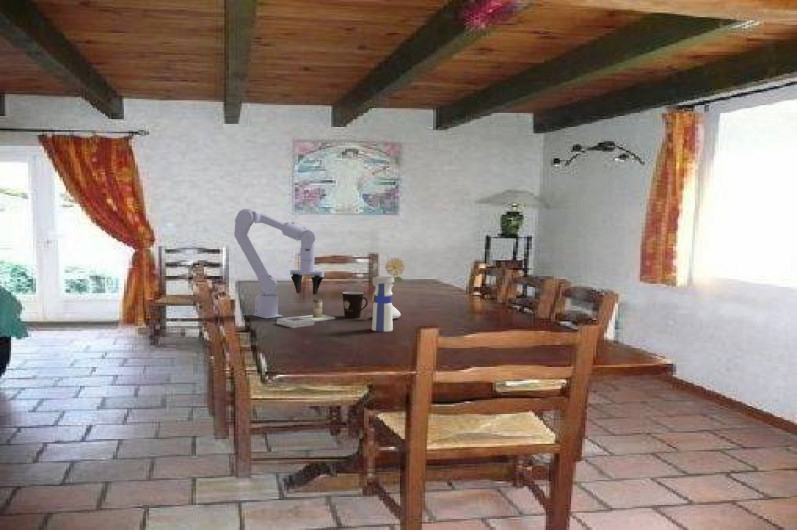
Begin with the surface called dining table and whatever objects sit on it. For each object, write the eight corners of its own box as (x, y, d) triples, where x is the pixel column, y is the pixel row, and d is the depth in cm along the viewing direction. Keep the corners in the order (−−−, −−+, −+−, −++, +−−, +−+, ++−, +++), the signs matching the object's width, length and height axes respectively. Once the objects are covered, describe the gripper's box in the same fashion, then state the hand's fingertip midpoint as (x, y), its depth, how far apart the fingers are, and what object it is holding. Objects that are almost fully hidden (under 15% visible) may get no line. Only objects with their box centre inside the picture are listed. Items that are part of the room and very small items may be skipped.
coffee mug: (338, 315, 263) (339, 291, 262) (358, 315, 267) (358, 291, 266) (348, 320, 253) (349, 295, 252) (369, 319, 256) (369, 294, 255)
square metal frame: (276, 324, 241) (276, 318, 240) (298, 321, 248) (298, 316, 248) (292, 327, 234) (292, 322, 233) (314, 325, 241) (314, 319, 240)
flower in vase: (368, 319, 256) (370, 257, 254) (377, 315, 267) (379, 255, 265) (399, 322, 252) (401, 258, 250) (407, 317, 263) (409, 257, 261)
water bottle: (367, 330, 232) (369, 262, 230) (374, 326, 240) (375, 260, 238) (389, 332, 230) (391, 263, 228) (395, 328, 238) (397, 261, 236)
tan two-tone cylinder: (310, 317, 255) (311, 299, 254) (316, 315, 258) (316, 298, 257) (318, 318, 253) (318, 300, 252) (323, 316, 256) (324, 299, 255)
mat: (299, 318, 255) (299, 316, 255) (319, 315, 263) (319, 314, 262) (315, 321, 248) (315, 319, 248) (335, 318, 255) (335, 317, 255)
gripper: (286, 259, 256) (285, 293, 257) (318, 261, 251) (317, 296, 252) (295, 258, 263) (295, 291, 264) (326, 260, 257) (326, 294, 258)
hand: (306, 293), depth 258 cm, fingers open, 7 cm apart
